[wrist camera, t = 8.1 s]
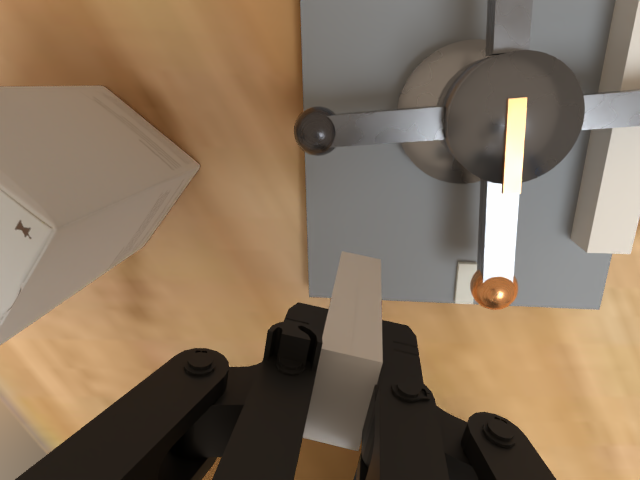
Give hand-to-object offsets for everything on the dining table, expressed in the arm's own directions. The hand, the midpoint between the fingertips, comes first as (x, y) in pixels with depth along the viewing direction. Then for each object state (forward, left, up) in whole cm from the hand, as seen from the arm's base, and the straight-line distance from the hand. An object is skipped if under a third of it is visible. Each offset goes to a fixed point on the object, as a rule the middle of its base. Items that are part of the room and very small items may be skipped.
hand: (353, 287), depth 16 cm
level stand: (+5, -6, -15) cm, 17 cm away
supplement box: (+2, +18, -15) cm, 23 cm away
